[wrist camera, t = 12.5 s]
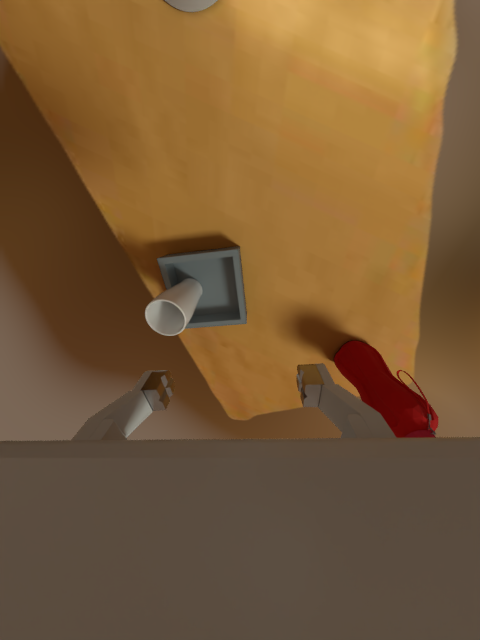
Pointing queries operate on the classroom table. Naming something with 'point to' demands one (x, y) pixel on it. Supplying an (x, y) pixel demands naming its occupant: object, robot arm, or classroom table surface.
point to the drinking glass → (174, 307)
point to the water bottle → (386, 391)
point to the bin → (210, 284)
